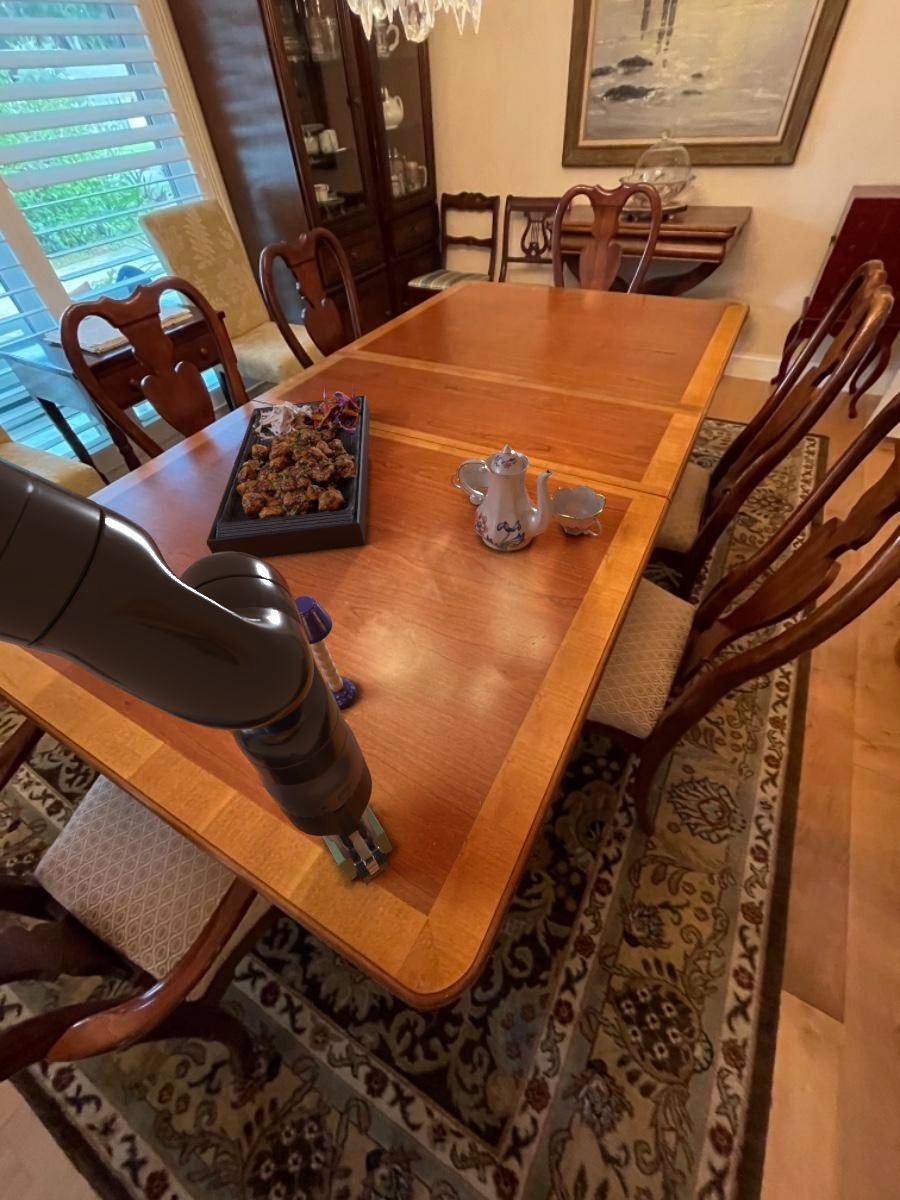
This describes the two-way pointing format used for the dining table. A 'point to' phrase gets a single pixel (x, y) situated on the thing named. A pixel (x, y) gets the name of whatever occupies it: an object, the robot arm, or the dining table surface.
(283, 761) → the robot arm
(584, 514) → the chinaware
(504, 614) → the dining table surface
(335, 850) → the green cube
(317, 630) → the toy lamp
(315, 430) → the food platter
